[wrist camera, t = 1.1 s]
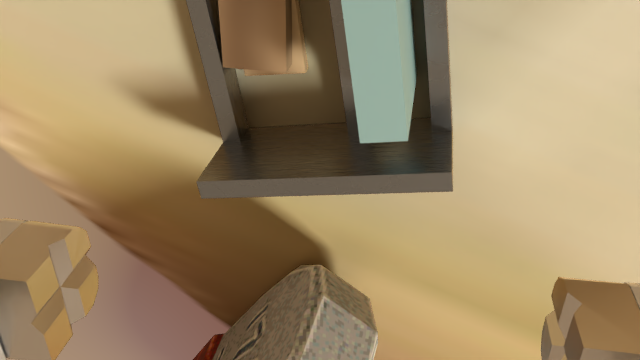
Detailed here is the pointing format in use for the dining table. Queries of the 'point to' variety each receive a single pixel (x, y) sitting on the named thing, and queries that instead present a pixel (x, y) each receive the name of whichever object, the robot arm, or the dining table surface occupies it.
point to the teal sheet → (381, 66)
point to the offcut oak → (297, 47)
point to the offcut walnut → (256, 34)
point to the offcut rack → (325, 130)
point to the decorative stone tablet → (301, 322)
